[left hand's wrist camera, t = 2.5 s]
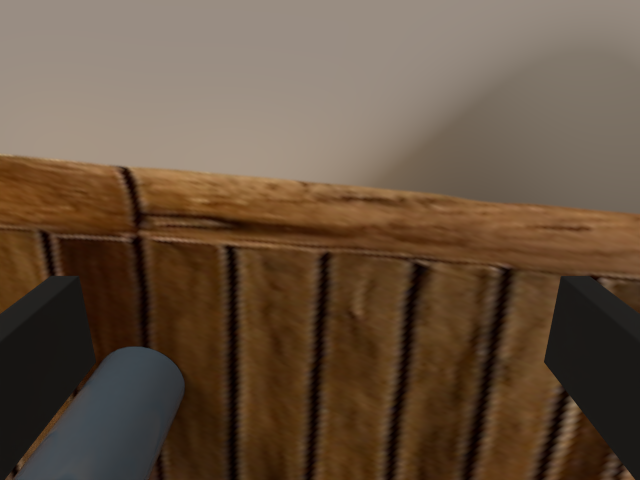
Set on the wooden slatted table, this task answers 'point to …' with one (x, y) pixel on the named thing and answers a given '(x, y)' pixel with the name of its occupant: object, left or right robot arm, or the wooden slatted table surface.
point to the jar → (112, 421)
